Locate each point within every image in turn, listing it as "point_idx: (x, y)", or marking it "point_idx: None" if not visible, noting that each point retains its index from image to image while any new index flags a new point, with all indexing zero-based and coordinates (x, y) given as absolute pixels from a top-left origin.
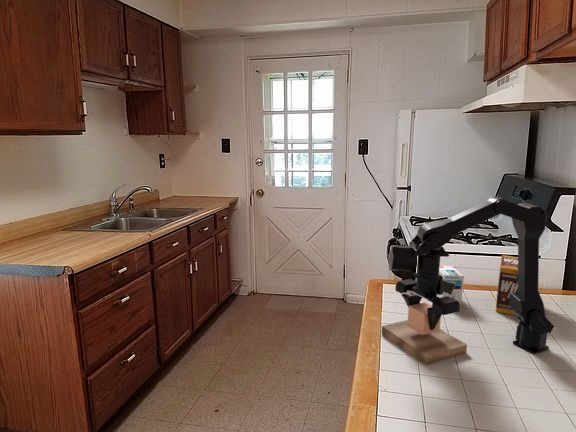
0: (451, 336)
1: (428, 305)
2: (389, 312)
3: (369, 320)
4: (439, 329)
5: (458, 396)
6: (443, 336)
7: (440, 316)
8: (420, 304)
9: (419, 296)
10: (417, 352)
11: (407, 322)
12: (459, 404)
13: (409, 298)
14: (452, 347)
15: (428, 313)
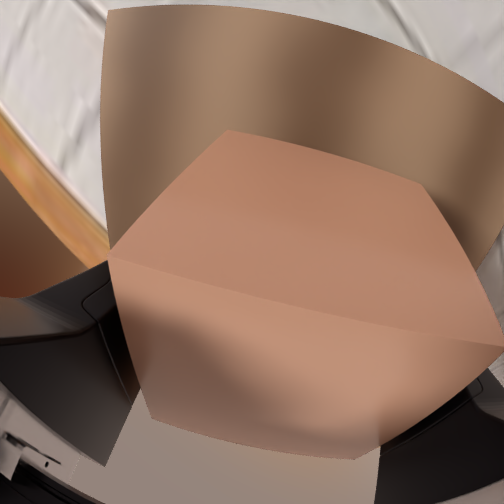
0: (457, 84)
1: (262, 343)
2: (6, 74)
3: (36, 200)
4: (423, 189)
5: (497, 359)
6: (421, 125)
7: (486, 376)
8: (165, 369)
9: (41, 401)
10: None
11: (125, 140)
12: (496, 372)
13: (103, 457)
14: (496, 221)
15: (387, 470)
